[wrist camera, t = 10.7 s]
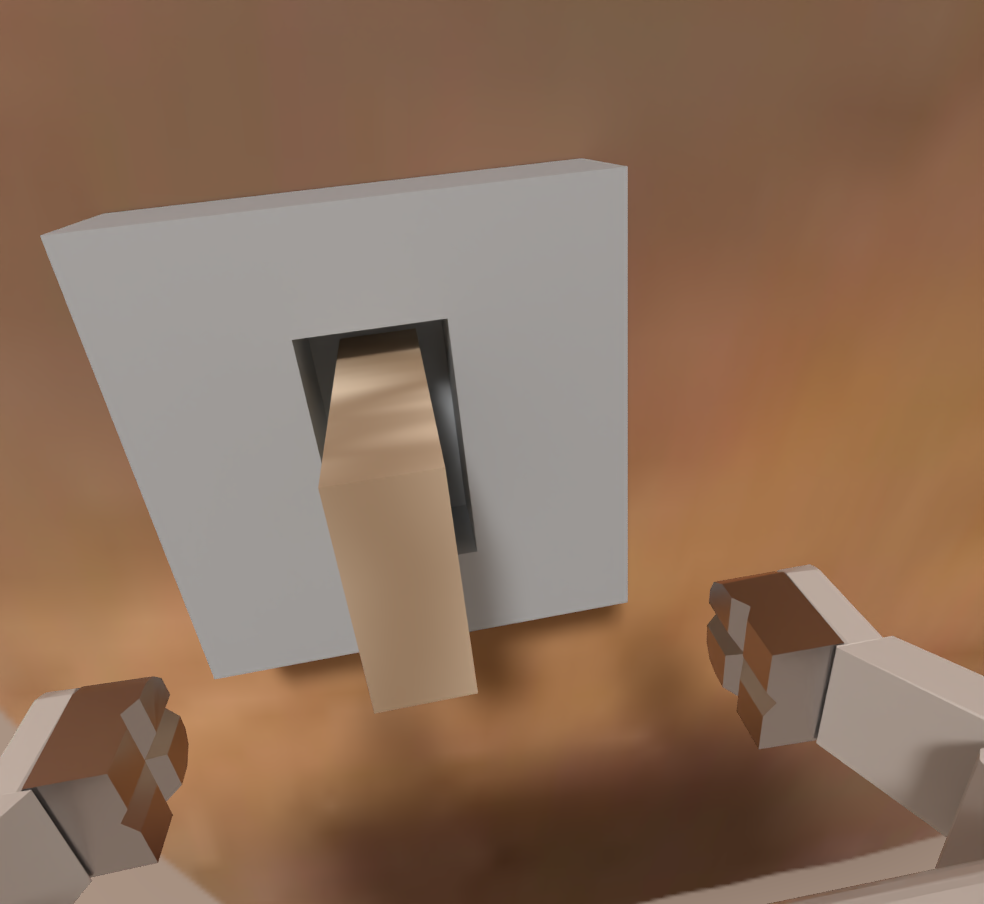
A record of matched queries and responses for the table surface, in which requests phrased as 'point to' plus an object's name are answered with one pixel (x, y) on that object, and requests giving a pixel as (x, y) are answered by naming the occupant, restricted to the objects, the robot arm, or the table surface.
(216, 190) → the table surface
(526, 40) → the table surface
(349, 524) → the wooden peg
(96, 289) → the grey peg hole block
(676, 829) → the table surface
